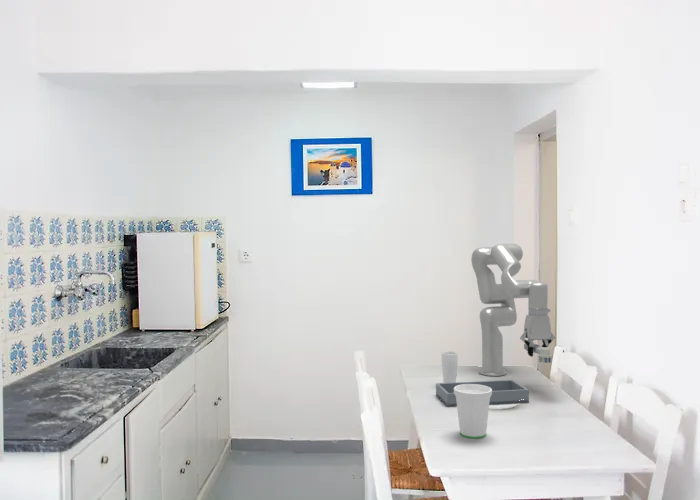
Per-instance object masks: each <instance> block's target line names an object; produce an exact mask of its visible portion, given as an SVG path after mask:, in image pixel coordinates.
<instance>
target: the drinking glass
mask: <svg viewBox="0 0 700 500" xmlns="http://www.w3.org/2000/svg"><path fill="white" fill-rule="evenodd" d="M441 367H442V377H443V378H442V379H443V380H442V381H443V383H456V382H457V372H458V352H457V351H452V350H446V351H442V352H441Z"/></svg>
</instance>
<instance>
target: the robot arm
mask: <svg viewBox="0 0 700 500" xmlns="http://www.w3.org/2000/svg"><path fill="white" fill-rule="evenodd" d="M523 252H524V251H523V249H522V247H521V246H520V245H519V244H517V243H497V244H496V245H494V246H483V247H478V248H475V249H474V250H473V251H472V254H471V257H470V258H471V266H472V269H473V272H474V274H475V277H476V281H477V282H476V283H477V288H478V294H479V300H480V301H481V303H482V304H483V305H484V304H485V305H499V306H487V307H485V308H482V309H481V310H480V312H479V320H480V327H481V355H482V356H481V366H482V367H481V368H480V369H479V370H478V373H479V374H481V375H482V376H488V377H502V376H506V374H507V370H505V369H504V357H503V355H504V352H503V349H504V348H503V346H504V345H503V343H504V342H503V334H502V332H501V331H500V329H499V327H511V326H513V325H515V324H516V323H517V319H518V318H517V316H518V315H517V309H516V304H515V303H516V302H515V299H527V298H528V303H527V304H528V305H527V306H528V307H527V308H528V309H527V310H528V313H527V314H526V315H525V320H524V324H523V325H524V327H523V333H522V334H521V336H520V337H519V339H520V340H521V341H522V342H523V343H524V344H526V345H527V346H528V351H527V354H528V356H529V357H531V358H532V357H533V356H534V353H533V347H532V344H533V343H534V341H542V345H541V347H547V348H549V346H550V344H551V343H552V341H554V340H555V339H556V336H555V335H554V333H552V328H551V322H550V317H549V313H551V309H550V308H548V298H549V297H548V294H549V293H548V291H549V290H548V287H549V286H548V284H547V283H545V282H542V281H537V280H535V279H527V280H526V279H523V280H514V278H513V277H514V276H516V275H517V274H518V273H519V272H520V271H521V267H522V266H521V265H522V264H521V262H520V261H521V260H522V259H523V255H524V253H523ZM495 265H496V266H498V268H499V269H500V271H501V272H502V273H501V277H500V282H501V283H497V282H496V278H495V273H494V271H493V270H492V269H491V268H490V267H489V266H495Z"/></svg>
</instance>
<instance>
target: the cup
mask: <svg viewBox="0 0 700 500" xmlns="http://www.w3.org/2000/svg"><path fill="white" fill-rule="evenodd" d="M454 394H455V396H456V402H457V406H456V409H457V417H458V426H459V427H458V428H459V434H460V435H461V436H462V437H464V438H467V439H482V438H484V437H486V436H487V429H488V428H487V427H488V418H489V409H490V405H489V401H490V397H491V395H492V389H491V388H490V387H487V386H484V385H479V384H462V385H458V386H455V387H454Z"/></svg>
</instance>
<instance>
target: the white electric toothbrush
mask: <svg viewBox="0 0 700 500" xmlns="http://www.w3.org/2000/svg"><path fill="white" fill-rule="evenodd" d="M532 347H533V354H537V357H538V362H539V363H543V364H545V363H547V364H549V363H552V358H553V355H552V354H551V349H550V347H548V348H547V347H542V345H538V344H536V343H535V342H533V344H532ZM523 349H524V350H526V352H528V346H527V345H526V344H525V343H524V344H523Z"/></svg>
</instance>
